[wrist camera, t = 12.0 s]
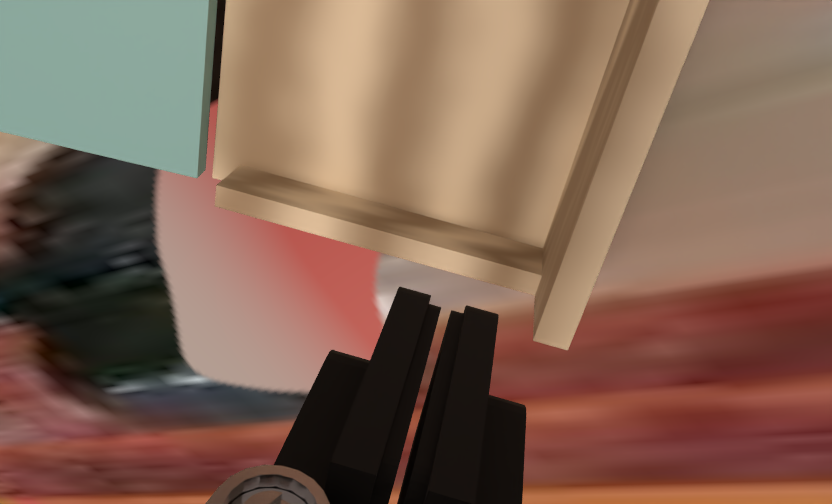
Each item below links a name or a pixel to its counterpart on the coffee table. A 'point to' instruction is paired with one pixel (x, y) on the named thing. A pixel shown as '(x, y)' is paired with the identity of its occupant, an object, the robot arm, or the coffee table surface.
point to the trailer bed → (451, 129)
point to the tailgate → (111, 77)
